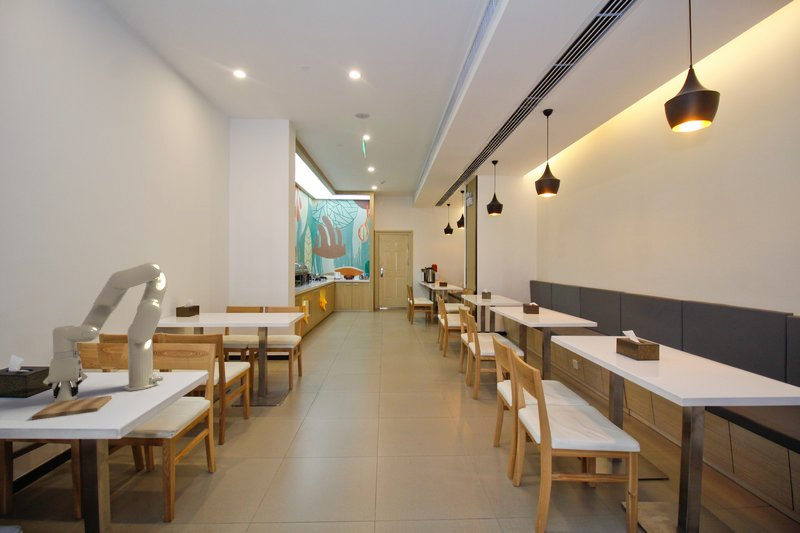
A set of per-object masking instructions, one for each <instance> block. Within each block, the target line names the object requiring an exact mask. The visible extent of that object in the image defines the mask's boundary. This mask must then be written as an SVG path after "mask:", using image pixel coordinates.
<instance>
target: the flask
mask: <svg viewBox="0 0 800 533" xmlns="http://www.w3.org/2000/svg"><path fill="white" fill-rule="evenodd" d="M60 386H61V387H60V390H59V392H58V395H57V398H56V399H55V398H54V402H53V403H55V402H63V401H71V400H78V398H79V397H78V394H77V395H75V396H73V397H72V387H73V385H72V382H71V381H65V382H60Z"/></svg>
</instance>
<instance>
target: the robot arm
mask: <svg viewBox="0 0 800 533" xmlns="http://www.w3.org/2000/svg"><path fill="white" fill-rule="evenodd" d="M143 284H145V289H144V290H143V294H142V296H141V299H140V301H139V303H138V305H137V308H136V313H135V316H134V319H133V320H132V323H131V324H130V325H129V327H128V328H127V332H126V333H127V352H128V353H127V355H128V356H127V358H128V360H127V365H128V366H127V367H128V384H126V385H125V386H124V390H125V391H132V392H133V391H142V390H146V389H149V388H153V387H155V386H157V384H158V382H163V381H164V376H162V375H159V376H156V374H155V373H154V365H153V364H154V361H153V360H154V358H153V357H154V355H153V352H154V350H153V348H154V347H153V345H154V344H153V343H154V342H153V337H154V334H155V332H156V331H157V330H156V329H157V327H158V324H159V323H160V322H159V321H160V320H161V316H162V312H163V308H162V304H163V301H164V298H165V295H166V291H167V287H168V281H167V277H166V275H165V273H164V271H163V270H162V269H161V267H160V266H159V265H158V264H157V263H155V262H146V263H143V264H139V265H136V266H133V267H131V268H127V269H123V270H119V271H115V272H114V273H113V272H112V275H110V277H109V278H108V280H107V281H106V283H105V285H104V286H103V288H102V289H101V290H100V292H99V294H98V295H97V297H96V298H95V300H94V302H93V305H92V307H91V309H90V310H89V312H88V314H87V315H86V317H85V318H84V319H83V321H82V323H81V325H79V326H74V325H63V326H62V325H61V326H56V327H54V328H53V329H52V354H53V359H52V360H51V359H50V360H51V363H50V362H49V369H48V376H46V377H45V379H44V380H43V381H42V383H43V384H44V385H46V386H48V387H49V388H50V389H51V390H52V394H53V395H52V396H53V397H54V400H55V399H56V398H57V395H58V392H59V390H60V387H59V386H60V385H61V382H65V381H70V383H71V386H72V397H73V396H75V395H77V396H78V393H79V385H80V384H81V383H82V382H84V381H85V380H86V379H88V378H89V376H88V375H87V374H86V373H84V370H83V364H82V359H81V357H80V355H81V354H82V351H81V350H78V343H80V342H81V343H83V342H84V343H87V342H92V341H94V340H96V339H97V338H98V336H99V335H100V333H101V330H102V329H103V326H104V325H105V324H106V322H107V320H108V319H109V318H110V316H111V314H113V313H114V311H115V310H116V309H117V308H118V307H119V305H120V303H121V301H122V300H123V298H124V296H125V295H126V293H127V291H128V290H129V289H130V288H134V287H137V286H140V285H143ZM79 378H80V379H79Z"/></svg>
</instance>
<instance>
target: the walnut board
mask: <svg viewBox="0 0 800 533" xmlns="http://www.w3.org/2000/svg"><path fill="white" fill-rule="evenodd" d="M112 397H113V396H112V395H106V396H104V395H103V396H98V397H89V398H81V399H75V400H71V401H63V402H51V403H50V404H48V405H47V406H45V407H44V408H42V409H41V410H39V411H37V412H36V413H34V414H33V415H31V421H34V420H35V421H36V420H42V419H49V418H50V419H51V418H57V417H65V416H73V415H80V414H86V413H95V412H98V411H99V410H100V409H101V408H103V407H104V406H105V405H106V404H108V403H109V402H110V401H111V400H112Z"/></svg>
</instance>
